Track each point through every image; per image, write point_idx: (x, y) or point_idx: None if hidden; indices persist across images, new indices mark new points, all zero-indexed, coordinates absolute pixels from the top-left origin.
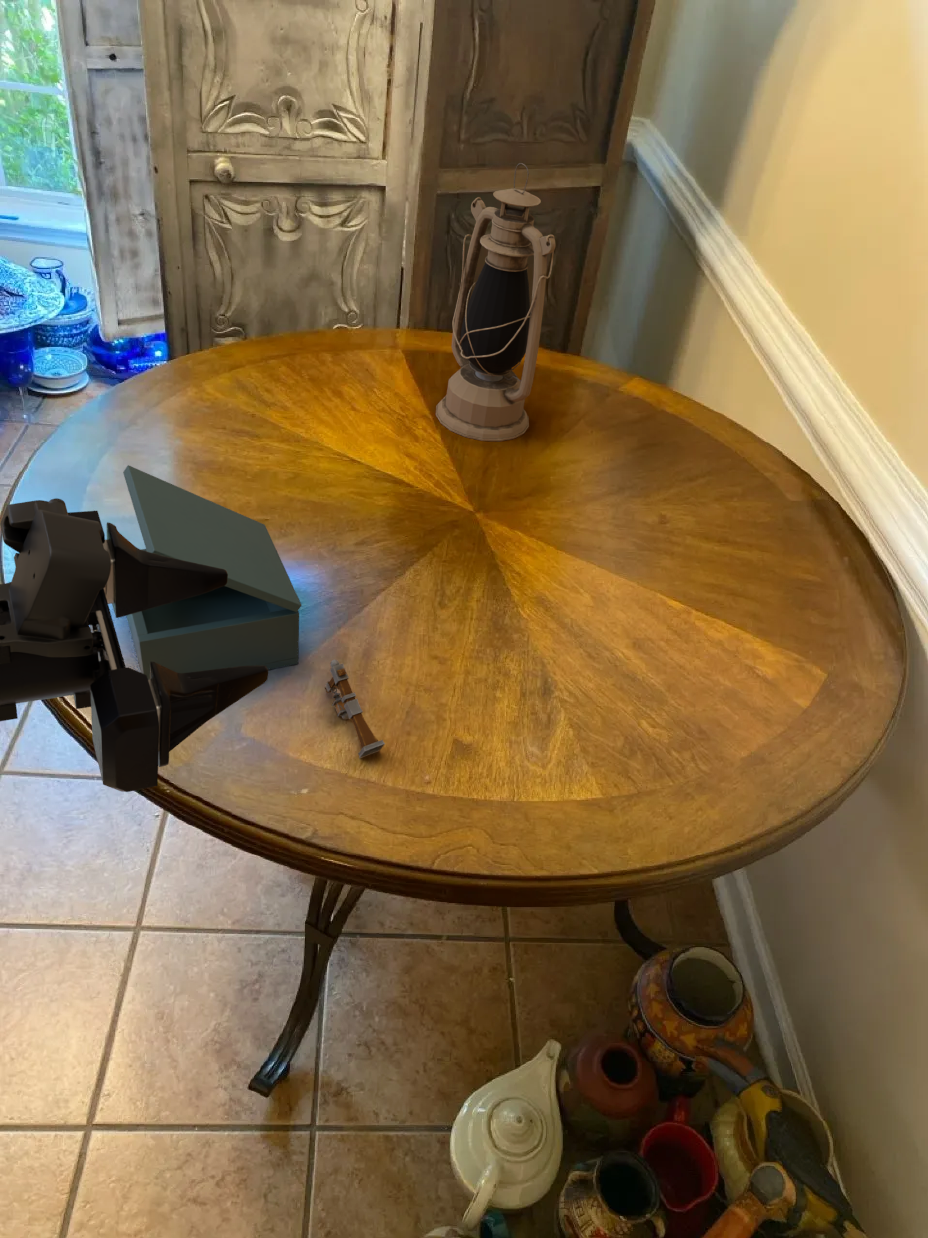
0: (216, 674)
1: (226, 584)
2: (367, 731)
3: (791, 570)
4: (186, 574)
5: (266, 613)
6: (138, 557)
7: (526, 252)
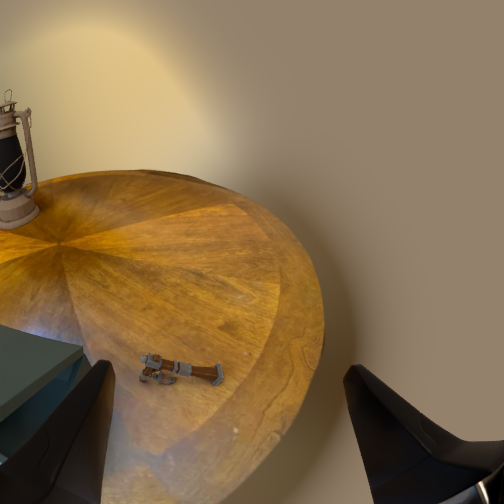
0: (408, 416)
1: (43, 383)
2: (206, 369)
3: (177, 188)
4: (88, 423)
5: (70, 376)
6: (28, 488)
7: (17, 123)
